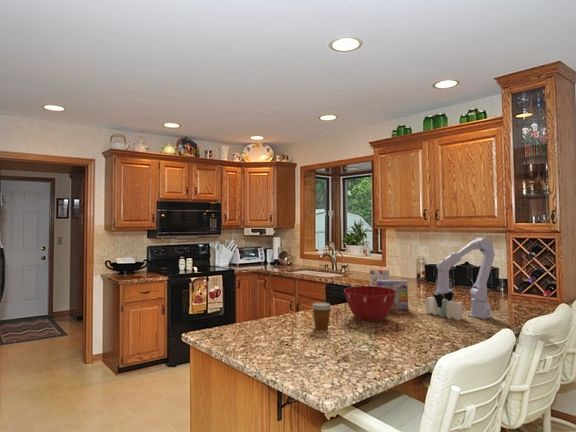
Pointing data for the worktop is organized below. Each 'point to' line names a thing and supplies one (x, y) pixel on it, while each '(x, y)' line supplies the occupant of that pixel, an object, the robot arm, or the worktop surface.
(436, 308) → the domino
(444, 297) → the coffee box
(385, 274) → the cracker box
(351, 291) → the mixing bowl
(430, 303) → the domino
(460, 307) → the domino
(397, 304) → the cake pan box
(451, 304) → the domino
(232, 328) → the worktop surface
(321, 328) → the disposable coffee cup
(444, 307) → the domino
